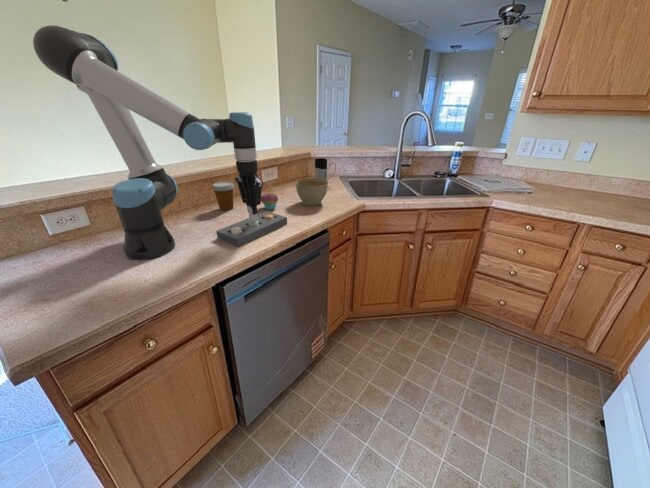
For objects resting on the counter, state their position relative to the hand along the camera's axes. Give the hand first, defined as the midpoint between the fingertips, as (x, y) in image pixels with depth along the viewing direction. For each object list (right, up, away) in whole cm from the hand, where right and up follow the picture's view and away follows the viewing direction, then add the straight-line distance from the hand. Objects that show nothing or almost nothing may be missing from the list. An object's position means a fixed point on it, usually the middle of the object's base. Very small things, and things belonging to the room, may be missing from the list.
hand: (253, 221), depth 112 cm
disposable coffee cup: (-19, +8, +24) cm, 32 cm away
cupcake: (+1, +8, +26) cm, 27 cm away
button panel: (0, -4, +2) cm, 4 cm away
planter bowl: (+22, +12, +33) cm, 41 cm away
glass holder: (+28, +28, +65) cm, 76 cm away
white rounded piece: (-5, -7, -4) cm, 9 cm away
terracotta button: (+5, 0, +8) cm, 9 cm away
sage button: (0, -3, +2) cm, 4 cm away
